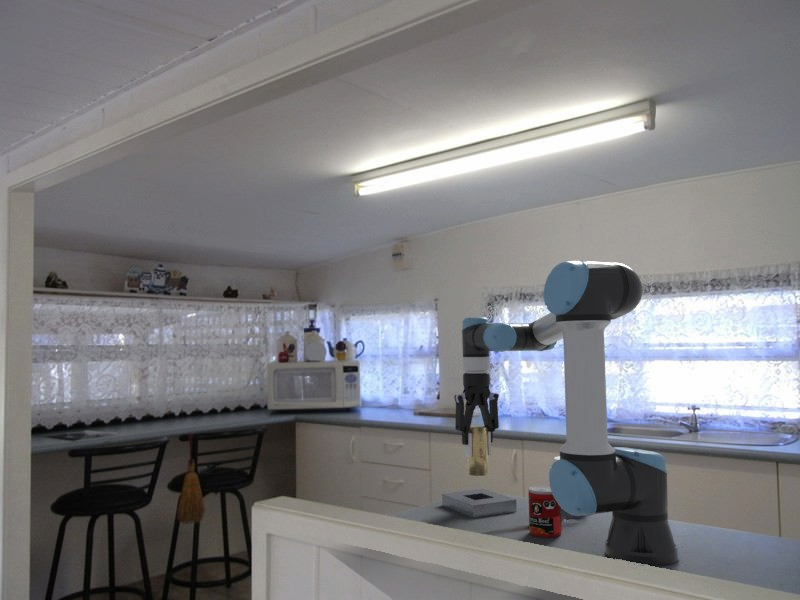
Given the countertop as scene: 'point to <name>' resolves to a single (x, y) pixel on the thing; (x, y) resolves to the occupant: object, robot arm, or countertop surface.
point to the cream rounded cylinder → (478, 451)
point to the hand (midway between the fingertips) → (477, 455)
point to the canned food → (544, 512)
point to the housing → (479, 503)
